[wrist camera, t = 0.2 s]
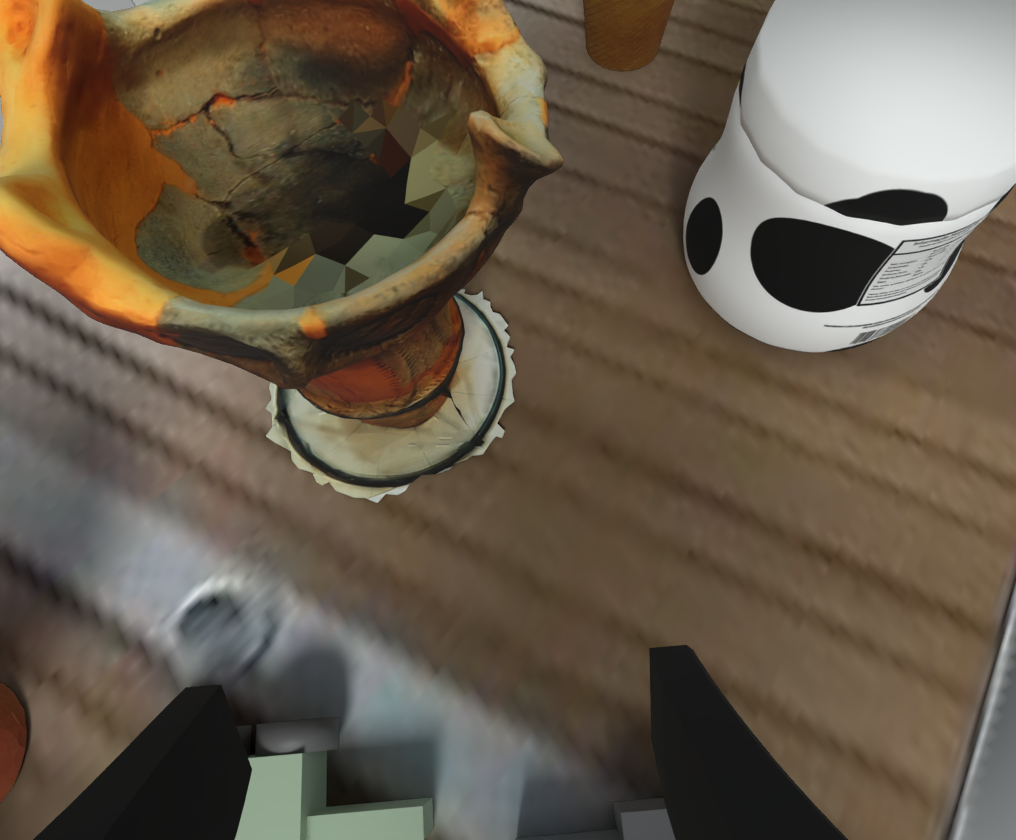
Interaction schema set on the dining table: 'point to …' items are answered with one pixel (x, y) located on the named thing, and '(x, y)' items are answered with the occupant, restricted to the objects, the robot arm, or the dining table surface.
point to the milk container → (853, 166)
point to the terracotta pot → (11, 739)
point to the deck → (314, 791)
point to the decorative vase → (286, 202)
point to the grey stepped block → (628, 824)
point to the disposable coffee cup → (625, 31)
